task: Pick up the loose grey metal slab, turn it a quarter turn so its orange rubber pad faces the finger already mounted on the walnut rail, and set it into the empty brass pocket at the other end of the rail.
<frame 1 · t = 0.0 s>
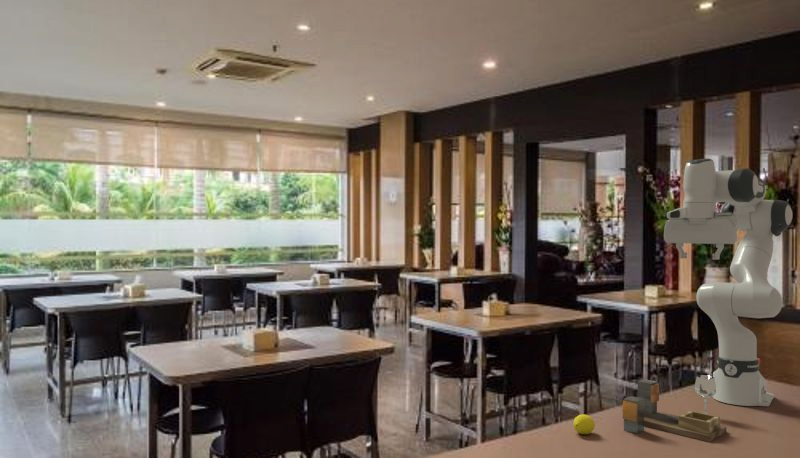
hand: (699, 259, 185), 48 cm above the table, fingers open, 8 cm apart
grey metal slab: (634, 430, 175), on the table
lemon: (583, 434, 172), on the table
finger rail: (674, 426, 179), on the table
wineglass: (705, 417, 189), on the table
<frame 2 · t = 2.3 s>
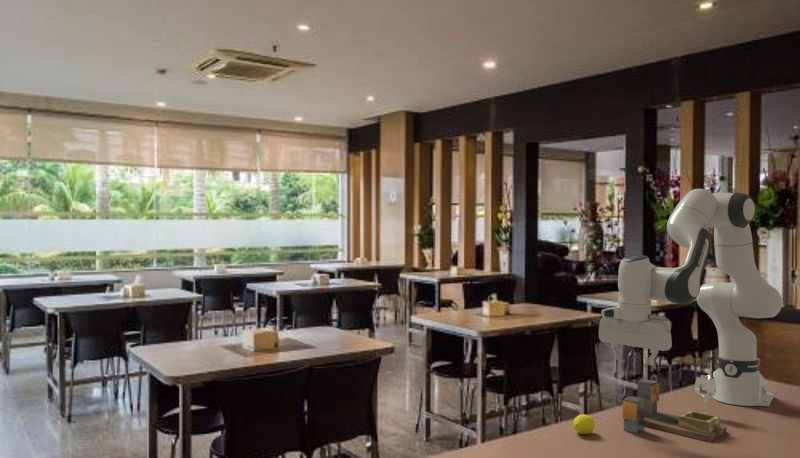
hand: (633, 362, 175), 19 cm above the table, fingers open, 8 cm apart
nothing on the table moved.
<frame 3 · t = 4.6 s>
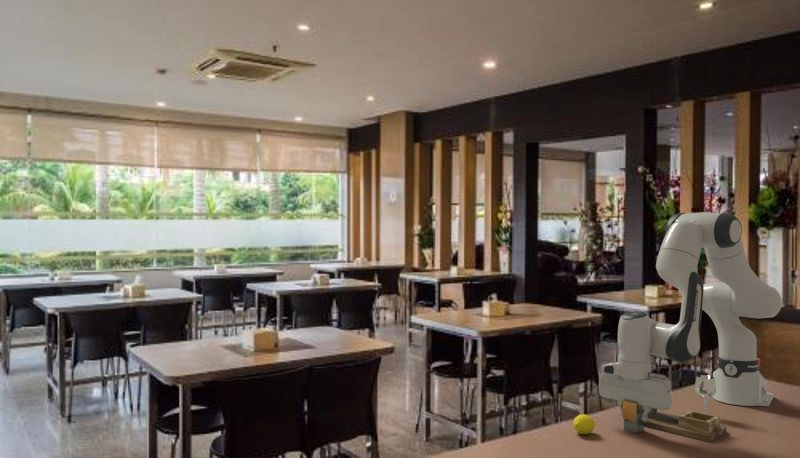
hand: (634, 418, 175), 3 cm above the table, fingers closed on grey metal slab, 4 cm apart
grey metal slab: (634, 430, 175), on the table, touching gripper
everything else where it was.
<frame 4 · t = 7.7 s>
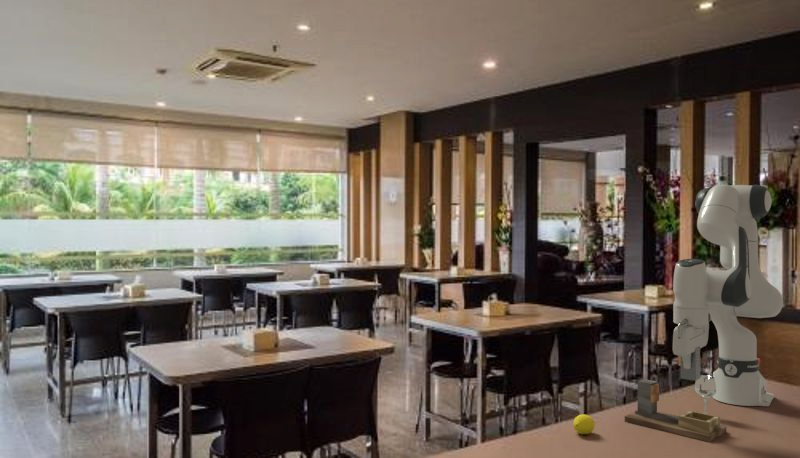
hand: (690, 366, 174), 18 cm above the table, fingers closed on grey metal slab, 4 cm apart
grey metal slab: (690, 378, 174), point 15 cm above the table, touching gripper
everything else where it was.
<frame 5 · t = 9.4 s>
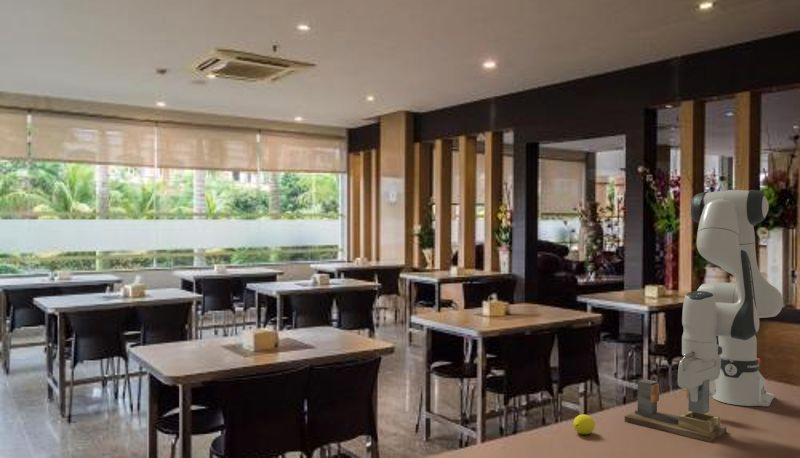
hand: (699, 399, 173), 9 cm above the table, fingers closed on grey metal slab, 4 cm apart
grey metal slab: (698, 411, 173), point 6 cm above the table, touching gripper
everything else where it was.
when the fingers open (7 cm above the table, at t = 10.6 s): grey metal slab stays where it is, resting on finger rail.
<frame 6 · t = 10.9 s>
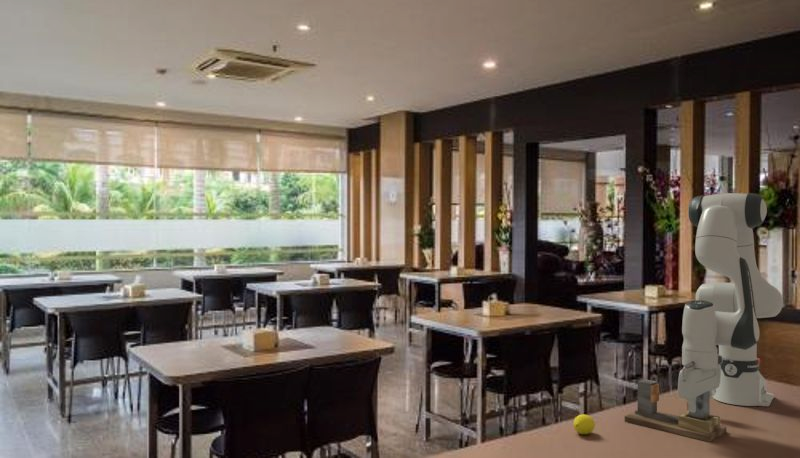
hand: (699, 408, 173), 7 cm above the table, fingers open, 7 cm apart
grey metal slab: (699, 423, 174), point 2 cm above the table, touching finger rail
everything else where it was.
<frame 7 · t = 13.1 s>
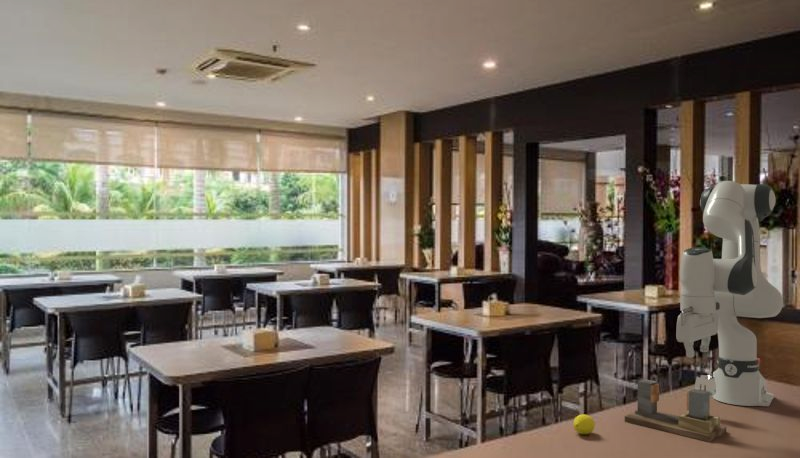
hand: (697, 354, 175), 22 cm above the table, fingers open, 8 cm apart
nothing on the table moved.
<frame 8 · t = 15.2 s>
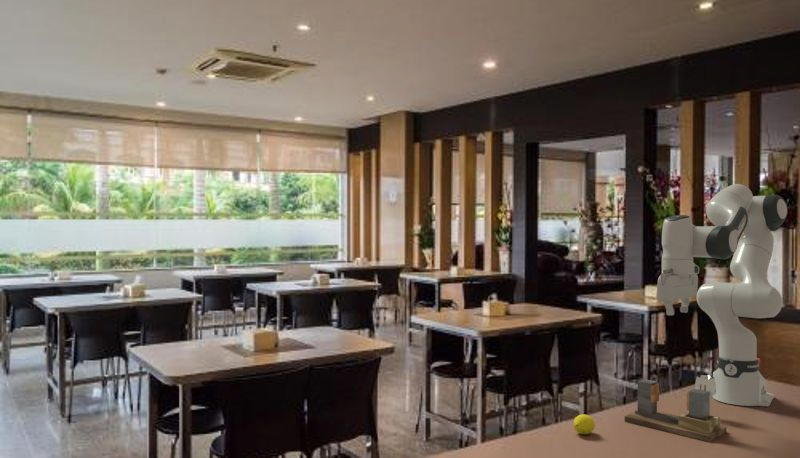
hand: (677, 313, 189), 31 cm above the table, fingers open, 8 cm apart
nothing on the table moved.
at the end: grey metal slab 0.1 cm from the target spot on the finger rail, point 2.5 cm above the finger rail's base; grey metal slab tilted 0°; the gripper is holding nothing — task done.
